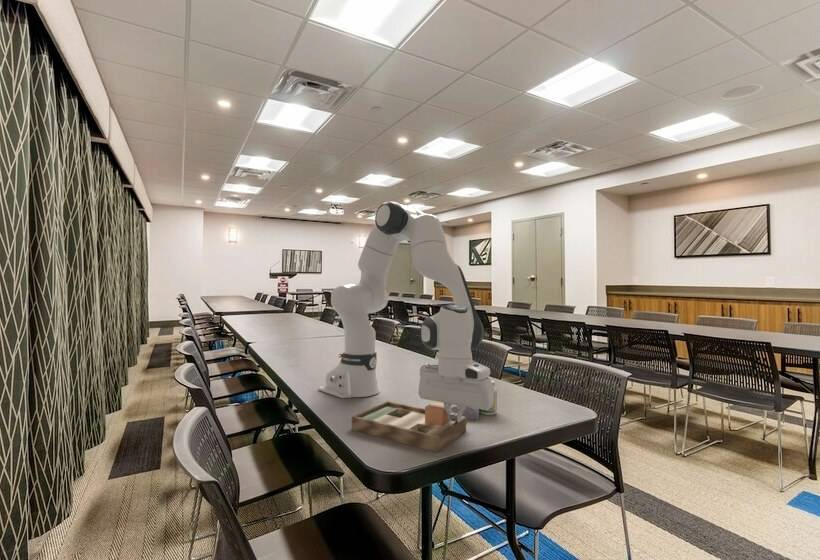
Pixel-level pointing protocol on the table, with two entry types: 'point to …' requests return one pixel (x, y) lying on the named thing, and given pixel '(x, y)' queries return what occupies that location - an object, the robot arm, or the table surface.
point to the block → (436, 414)
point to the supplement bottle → (494, 407)
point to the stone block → (467, 412)
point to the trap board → (407, 426)
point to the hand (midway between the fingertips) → (454, 420)
